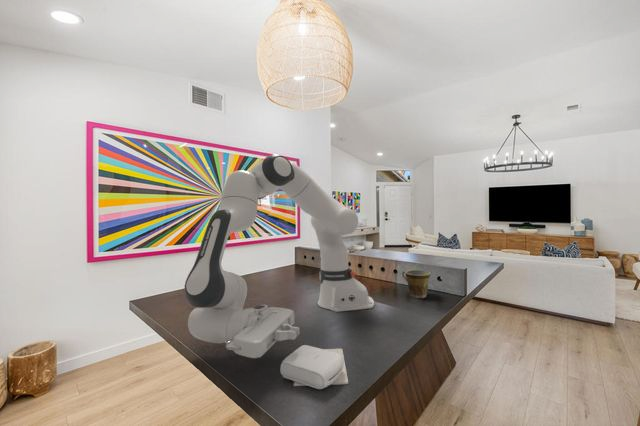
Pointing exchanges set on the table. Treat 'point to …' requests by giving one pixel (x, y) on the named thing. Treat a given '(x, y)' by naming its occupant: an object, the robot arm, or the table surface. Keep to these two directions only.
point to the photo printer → (312, 366)
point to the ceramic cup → (417, 282)
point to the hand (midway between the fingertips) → (297, 333)
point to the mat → (342, 377)
